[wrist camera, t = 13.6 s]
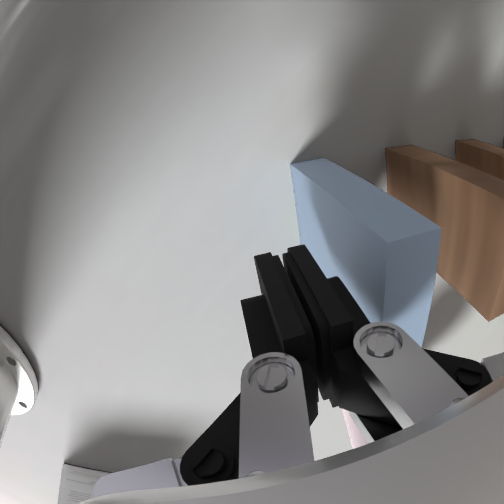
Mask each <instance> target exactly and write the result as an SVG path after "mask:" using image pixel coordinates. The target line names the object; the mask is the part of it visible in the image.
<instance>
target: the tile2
mask: <svg viewBox="0 0 504 504" xmlns="http://www.w3.org/2000/svg"><path fill="white" fill-rule="evenodd" d="M385 149H386V167H387V193H388V194H389V195H391V196H393V197H394V198H396V199H398V200H399V201H401V202H403V203H404V204H406V205H407V206H409V207H411V208H412V209H414V210H415V211H417V212H418V213H420V214H421V215H423V216H424V217H426V218H428V219H429V220H431V221H432V222H434V223H435V224H437V225H438V226H440V227H441V239H440V248H439V256H438V264H437V271H436V272H437V273H438V274H439V275H440V276H441V277H442V278H443V279H444V280H445V281H446V282H448V283H449V284H450V285H451V286H452V287H453V288H454V289H455V290H456V291H457V292H458V293H459V294H461V295H462V296H463V297H464V298H465V299H466V300H467V301H468V302H469V303H470V304H471V305H472V306H473V307H474V308H475V309H476V310H477V311H478V312H479V313H480V314H481V315H482V316H483V317H484V318H485V319H486V320H487V321H488V322H489V321H491V320H493V319H494V318H496V317H498V316H500V315H501V314H503V313H504V181H503V180H501V179H499V178H497V177H494V176H492V175H490V174H488V173H485V172H483V171H480V170H478V169H476V168H473V167H471V166H468V165H466V164H463V163H461V162H458V161H455V160H453V159H450V158H447V157H445V156H442V155H439V154H436V153H434V152H431V151H428V150H425V149H422V148H419V147H416V146H413V145H407V146H398V147H391V148H385Z"/></svg>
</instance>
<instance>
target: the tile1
mask: <svg viewBox="0 0 504 504" xmlns="http://www.w3.org/2000/svg"><path fill="white" fill-rule="evenodd" d="M290 167H291V174H292V181H293V188H294V195H295V202H296V210H297V217H298V225H299V233H300V241H301V245H303V244H304V245H305V246H306V247H307V249H308V250H309V252H310V253H311V255H312V256H313V258H314V259H315V261H316V262H317V264H318V265H319V267H320V268H321V270H322V271H323V273H324V275H325V276H326V278H331V277H335V276H338V277H339V278H340V279H341V281H342V282H343V283H344V285H345V286H346V288H347V289H348V291H349V292H350V293H351V295H352V296H353V298H354V299H355V301H356V302H357V304H358V305H359V307H360V308H361V309H362V311H363V312H364V314H365V315H366V317H367V318H368V320H369V321H370V323H373V322H389V323H392V324H395V325H397V326H399V327H400V328H402V329H403V330H404V331H405V332H406V333H407V334H408V335H409V336H410V337H411V338H412V339H413V340H414V341H415V342H416V343H417V344H418V345H419V346H420V347H421V348H422V344H423V339H424V335H425V331H426V326H427V321H428V317H429V312H430V307H431V301H432V296H433V290H434V284H435V277H436V271H437V264H438V256H439V248H440V239H441V227H440V226H438V225H437V224H435V223H434V222H432V221H431V220H429V219H428V218H426V217H424V216H423V215H421V214H420V213H418V212H417V211H415V210H414V209H412V208H411V207H409V206H407V205H406V204H404V203H403V202H401V201H399V200H398V199H396V198H394V197H393V196H391V195H389V194H388V193H386V192H384V191H383V190H381V189H379V188H378V187H376V186H374V185H373V184H371V183H369V182H367V181H366V180H364V179H362V178H360V177H359V176H357V175H355V174H353V173H351V172H350V171H348V170H346V169H344V168H342V167H341V166H339V165H337V164H335V163H333V162H331V161H329V160H327V159H326V158H320V159H314V160H309V161H303V162H298V163H292V164H290Z"/></svg>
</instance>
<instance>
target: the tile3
mask: <svg viewBox="0 0 504 504" xmlns="http://www.w3.org/2000/svg"><path fill="white" fill-rule="evenodd" d="M456 161H458V162H461V163H463V164H466V165H468V166H471V167H473V168H476V169H478V170H480V171H483V172H485V173H488V174H490V175H492V176H494V177H497V178H499V179H501V180H503V181H504V149H503V148H500V147H497V146H494V145H491V144H488V143H485V142H481V141H478V140H475V139H467V140H456Z"/></svg>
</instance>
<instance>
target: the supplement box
mask: <svg viewBox="0 0 504 504" xmlns="http://www.w3.org/2000/svg"><path fill="white" fill-rule="evenodd" d="M107 474H110V473H107V472H101V471H96V470H91V469H86V468H81V467H76V466H72V465H68V464H63V466H62V473H61V481H60V488H59V496H58V504H78V503H81V502H83V501H86V500H89V499H92V490H93V487H94V485H95V483H96V482H97V481H98V480H99V479H100V478H101V477H102V476H105V475H107Z"/></svg>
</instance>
